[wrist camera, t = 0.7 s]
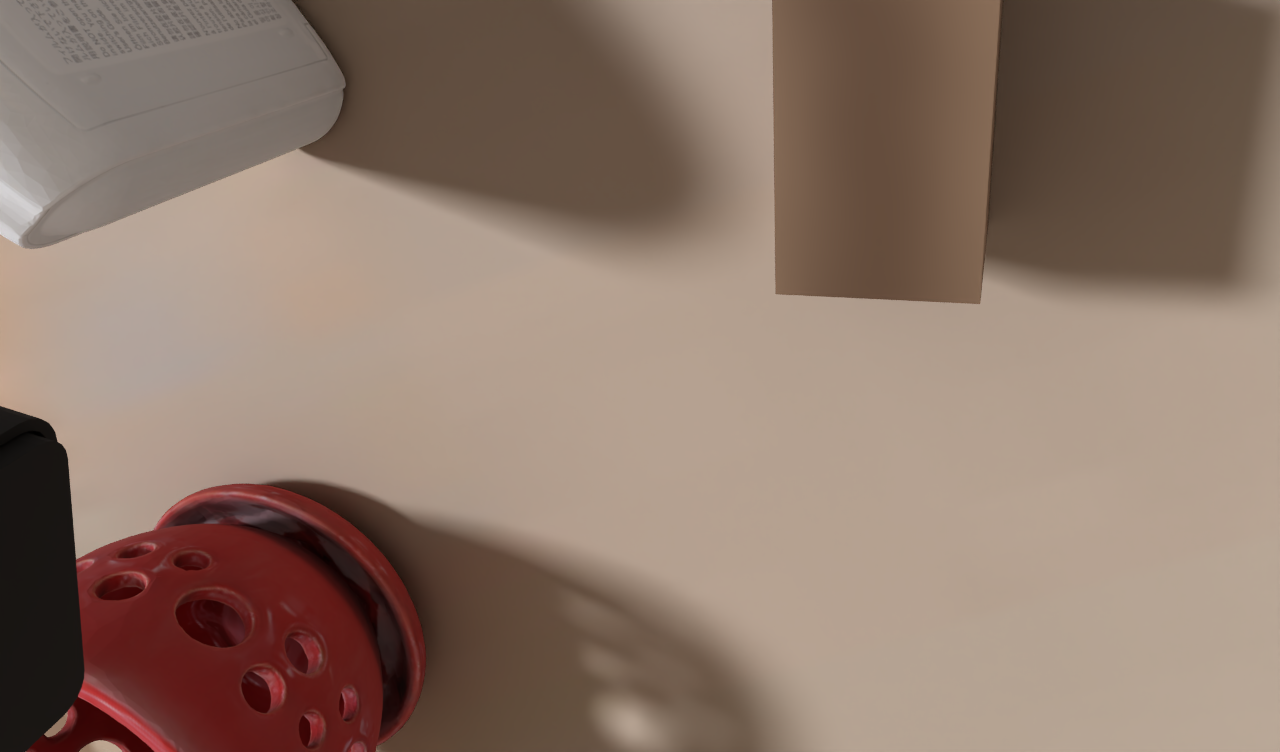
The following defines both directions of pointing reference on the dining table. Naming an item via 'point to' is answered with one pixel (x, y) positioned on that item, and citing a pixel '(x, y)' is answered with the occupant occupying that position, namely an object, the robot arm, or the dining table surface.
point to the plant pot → (243, 633)
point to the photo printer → (147, 103)
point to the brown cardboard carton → (884, 146)
